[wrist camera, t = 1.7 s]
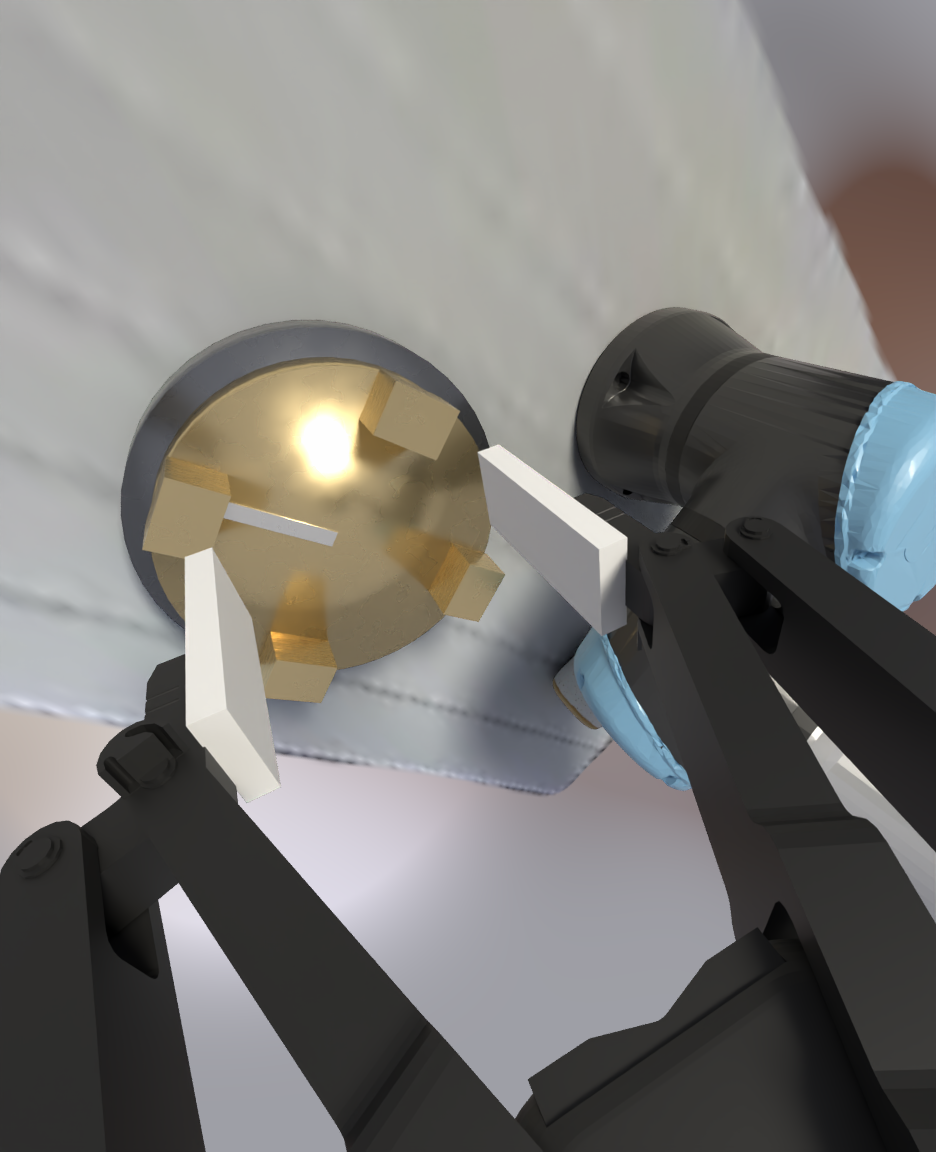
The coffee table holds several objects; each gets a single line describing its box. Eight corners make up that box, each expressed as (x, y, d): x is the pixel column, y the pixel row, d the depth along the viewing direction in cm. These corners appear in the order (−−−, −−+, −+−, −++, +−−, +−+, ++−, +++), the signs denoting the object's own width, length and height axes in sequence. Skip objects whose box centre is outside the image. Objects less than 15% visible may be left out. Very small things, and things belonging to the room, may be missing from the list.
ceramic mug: (536, 673, 58) (577, 725, 52) (590, 618, 57) (638, 665, 51) (583, 704, 65) (623, 753, 59) (632, 656, 64) (678, 701, 58)
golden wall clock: (428, 302, 32) (466, 315, 27) (503, 572, 45) (537, 609, 40) (62, 445, 28) (40, 486, 24) (260, 694, 41) (269, 749, 37)
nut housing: (425, 261, 33) (444, 264, 31) (506, 560, 48) (522, 578, 46) (23, 413, 29) (9, 430, 27) (247, 689, 44) (251, 716, 42)
